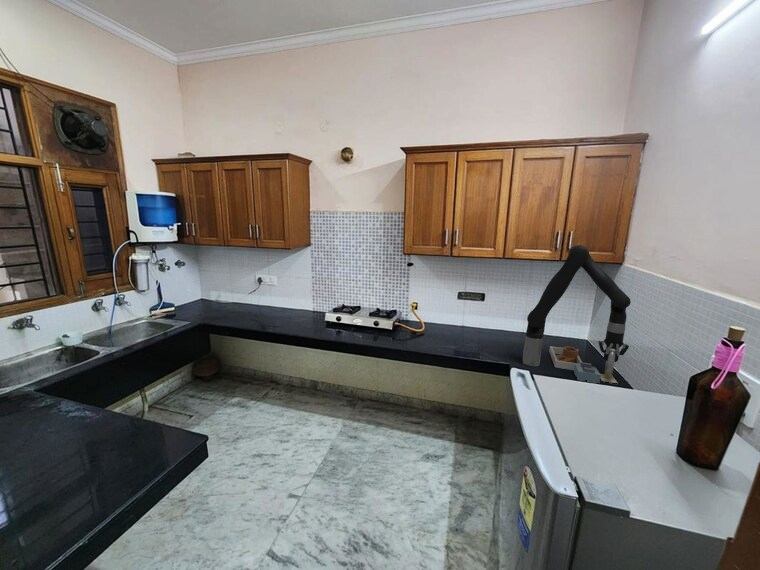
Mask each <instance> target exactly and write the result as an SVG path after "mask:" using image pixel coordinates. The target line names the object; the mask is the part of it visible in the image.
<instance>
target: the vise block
mask: <svg viewBox="0 0 760 570" xmlns="http://www.w3.org/2000/svg"><path fill="white" fill-rule="evenodd" d="M573 373H574V375H575V377H577V378H576V380H577V381H580V382H586V381H585V380H587V383H594V384H597V383H599V384H600V382H601V379H600V377H601V375H600V374H601V373H600V371H599V370H598V369H597V367H596V366H593V365H592V363H590V362H583V361H582V362H581V365H578V364H575V367H574V370H573Z"/></svg>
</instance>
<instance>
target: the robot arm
mask: <svg viewBox="0 0 760 570" xmlns="http://www.w3.org/2000/svg"><path fill="white" fill-rule="evenodd" d="M567 254H568V255H567V258H566V259H565V261H564V262H563V265H562V267H560V269H559V270H558V271H557V272H556V273H555V274H554V275H553V277H551V279H550V281H549V282H548V284H547V285H546V286H545V288H544V290H543V292H542V294H541V296H540V298H539V300H538V303H537V304H536V306H535V307H534V308H533V309H532V310H531V311H530V312H529V313H528V315H527V316H526V317H527V320H526V321H527V327H526V331H525V339H524V340H525V341H524V345H523V350H522V351H523V352H522V364H523V365H527V366H530V367H539V366H540V363H541V355H542V348H543V340H544V334H545V328H546V322H547V320H546V319H547V317H548V315H549V313H550V311H552V309H553V307H554V306H555V305H556V304H557V303H558V302H559V301H560V299H561V298H562V297H563V295H564V294H565V293H566V291H567V289H568V288H569V286H570V284H571V282H572V281H573V279H574V278H575V275H576V274H577V272H578V271H579V269H581V268H582V269H583V270H584V271H585V273H587V275H588V276H589V277H590V279H591V280H592V281H593V282H594V283H595V285H596V286H597V287H598V288H599V290H601V292H603V293H604V294H605V295H606V296H607V298H608V299H609V300H610V314H609V318H608V322H607V327H606V333H605V339H603V340H598V341H597V343H598V346H599V350H600V351H601V352H602V353H603V359H604V361H605V362H606V361H607V359H608V353H609V351H610V350H612V349H613V350H614V351H615V352H616V356H615V362H614V363H617V362H618V361H619V357H620V356H624V355H626V354H625V353H626V352H627V351H628V349H630V346H629V345H628V344H627V343H624V337H625V332H626V322H627V317H628V316H627V312H626V311H627V308H628V307H629V306H630V305H631V298H630V297H629V296H628V295H627V294H626V293H625V292H624V290H622V289H621V288H620V287H619V285H618V284H617V283H616V282H615V281H614V280H613V279H612V277H610V276H609V275H608V273H606V272H605V270H603V268H601V266H599V264H597V263H596V261H595V260H594V258H592V256H591V254H590V251H589V249H588V248H587V247H586V246H584V245H581V244H577V245H576V244H575V245H573V246H572V247H570V249H569V251H568V253H567ZM604 345H605V348H604ZM621 347H622V348H621ZM620 348H621V349H620Z"/></svg>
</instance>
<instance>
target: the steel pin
mask: <svg viewBox="0 0 760 570" xmlns="http://www.w3.org/2000/svg"><path fill="white" fill-rule="evenodd" d="M615 356H616V352H615V350H612V349H611V350H610V351H609V353H608V359H607V361H606V360H605V366H604V370H603V371H604V372H603V374H605V375H612V376H613V373H614V367H615V363H616V362H615Z"/></svg>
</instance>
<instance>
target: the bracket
mask: <svg viewBox="0 0 760 570" xmlns="http://www.w3.org/2000/svg"><path fill="white" fill-rule="evenodd" d="M562 348H563V353H562V354H557V355H556V354H555V355H556V357H557V360H558V361H564V362H571V363H576V358H577V356H579V354H580V353H579V352H580V350H579V349H578V348H575V347H573V346H563V347H562Z"/></svg>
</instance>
